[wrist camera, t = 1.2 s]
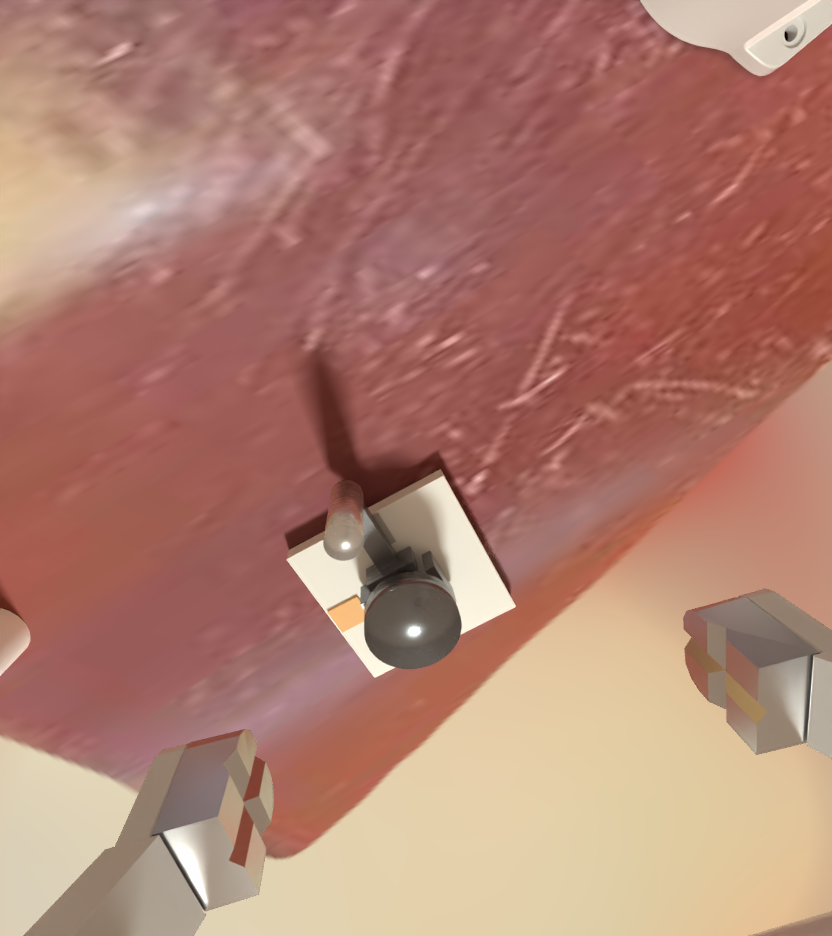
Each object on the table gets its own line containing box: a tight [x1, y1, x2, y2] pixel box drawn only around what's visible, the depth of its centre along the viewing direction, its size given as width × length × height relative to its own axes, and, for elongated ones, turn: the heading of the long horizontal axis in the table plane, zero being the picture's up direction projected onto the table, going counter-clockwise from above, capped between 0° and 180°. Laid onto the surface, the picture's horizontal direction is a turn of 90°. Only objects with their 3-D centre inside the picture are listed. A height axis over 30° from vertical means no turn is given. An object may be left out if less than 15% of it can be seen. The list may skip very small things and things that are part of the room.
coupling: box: [323, 480, 462, 669], centre depth 35 cm, size 7×14×8 cm, turn 28°
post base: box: [286, 469, 516, 678], centre depth 39 cm, size 14×14×5 cm
